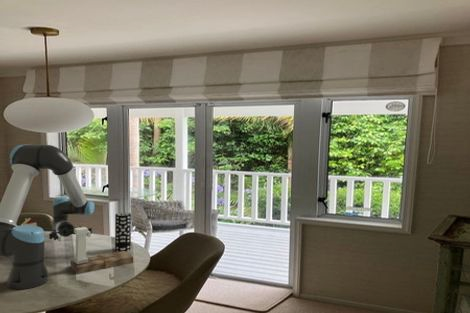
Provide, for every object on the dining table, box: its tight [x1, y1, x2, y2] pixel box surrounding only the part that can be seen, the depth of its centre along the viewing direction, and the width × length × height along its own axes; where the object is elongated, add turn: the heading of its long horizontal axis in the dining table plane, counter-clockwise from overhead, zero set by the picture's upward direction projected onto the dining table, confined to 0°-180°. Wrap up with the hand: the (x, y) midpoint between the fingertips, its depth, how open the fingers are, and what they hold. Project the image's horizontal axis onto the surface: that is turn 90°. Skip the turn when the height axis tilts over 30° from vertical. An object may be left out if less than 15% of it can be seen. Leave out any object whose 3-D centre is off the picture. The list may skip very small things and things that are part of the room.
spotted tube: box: [114, 212, 132, 253], centre depth 194 cm, size 8×8×20 cm
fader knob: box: [73, 226, 89, 264], centre depth 163 cm, size 5×6×16 cm
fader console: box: [70, 251, 134, 275], centre depth 169 cm, size 26×12×3 cm, turn 129°
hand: (75, 236), depth 171 cm, fingers open, 13 cm apart
